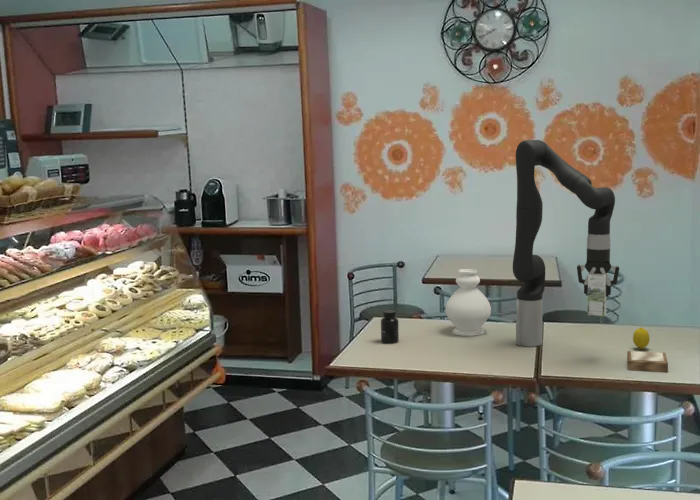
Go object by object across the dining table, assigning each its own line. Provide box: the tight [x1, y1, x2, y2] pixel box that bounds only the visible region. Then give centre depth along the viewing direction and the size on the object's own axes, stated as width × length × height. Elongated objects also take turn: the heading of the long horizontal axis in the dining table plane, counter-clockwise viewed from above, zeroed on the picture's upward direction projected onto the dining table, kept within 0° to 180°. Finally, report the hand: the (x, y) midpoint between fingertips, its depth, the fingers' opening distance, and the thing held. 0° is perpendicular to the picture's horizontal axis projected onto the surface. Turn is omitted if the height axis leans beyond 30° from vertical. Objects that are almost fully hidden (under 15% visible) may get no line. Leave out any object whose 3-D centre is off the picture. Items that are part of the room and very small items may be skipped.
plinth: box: [626, 350, 669, 373], centre depth 257 cm, size 12×12×3 cm
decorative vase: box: [445, 268, 492, 337], centre depth 306 cm, size 18×18×25 cm
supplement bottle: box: [380, 309, 400, 345], centre depth 297 cm, size 7×7×12 cm
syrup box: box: [586, 273, 607, 318], centre depth 262 cm, size 6×6×14 cm
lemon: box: [632, 326, 650, 350], centre depth 275 cm, size 6×6×8 cm
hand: (597, 295), depth 262 cm, fingers closed on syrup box, 6 cm apart
